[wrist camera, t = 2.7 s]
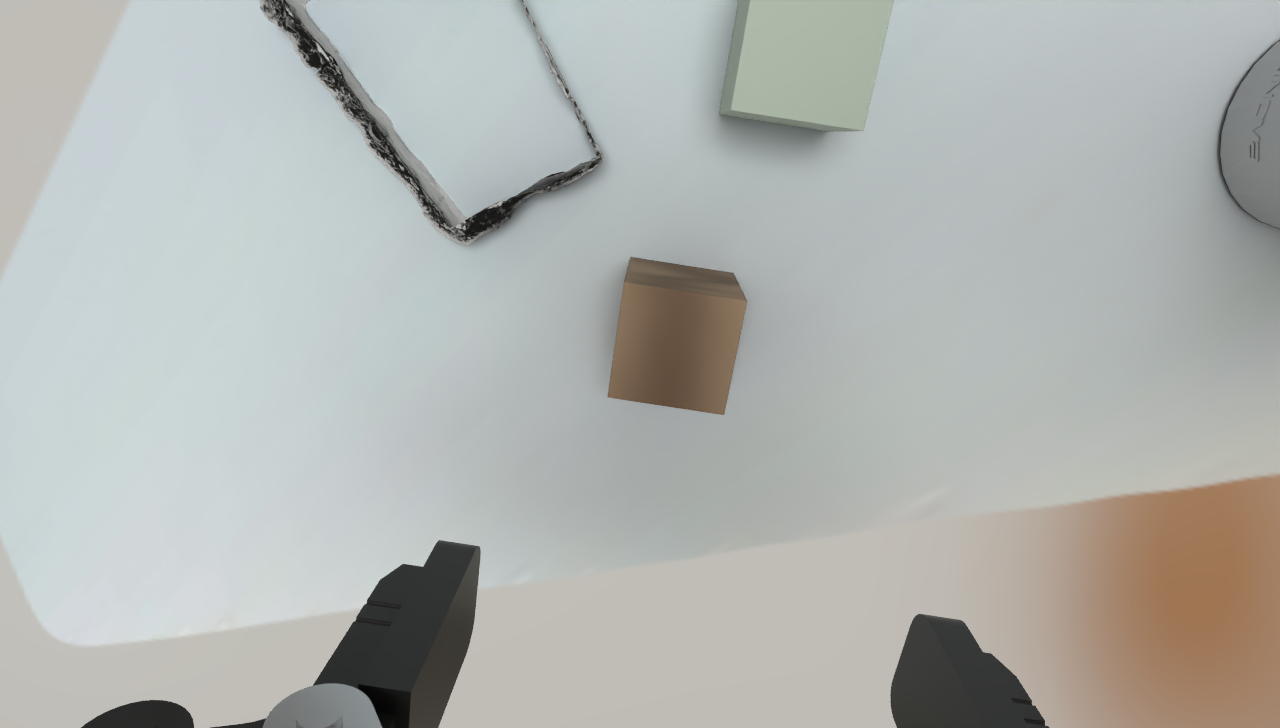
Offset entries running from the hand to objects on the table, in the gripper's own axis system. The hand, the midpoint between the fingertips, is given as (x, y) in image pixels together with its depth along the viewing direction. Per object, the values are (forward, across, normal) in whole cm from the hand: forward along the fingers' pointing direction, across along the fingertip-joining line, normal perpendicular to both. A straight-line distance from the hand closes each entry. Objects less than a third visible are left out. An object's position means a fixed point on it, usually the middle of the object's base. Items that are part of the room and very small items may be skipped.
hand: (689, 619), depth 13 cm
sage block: (+23, -3, -12) cm, 26 cm away
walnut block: (+23, 0, 0) cm, 23 cm away
